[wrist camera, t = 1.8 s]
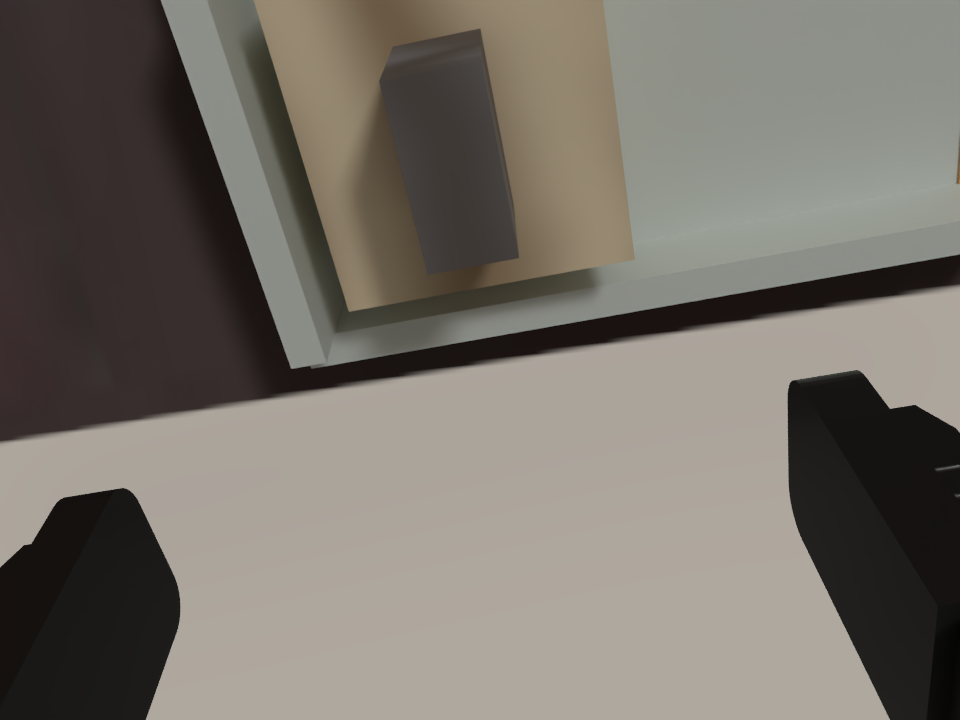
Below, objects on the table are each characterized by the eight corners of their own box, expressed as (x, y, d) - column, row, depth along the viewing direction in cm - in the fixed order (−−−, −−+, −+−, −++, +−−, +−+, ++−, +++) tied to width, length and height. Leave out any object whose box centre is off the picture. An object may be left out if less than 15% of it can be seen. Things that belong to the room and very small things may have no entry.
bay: (1067, -348, 25) (1222, -397, 20) (1013, 192, 33) (1113, 258, 28) (181, -139, 28) (113, -134, 22) (327, 317, 35) (301, 399, 30)
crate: (572, -112, 27) (611, -91, 19) (613, 202, 32) (657, 320, 24) (281, -47, 28) (205, -2, 20) (365, 249, 33) (331, 377, 25)
